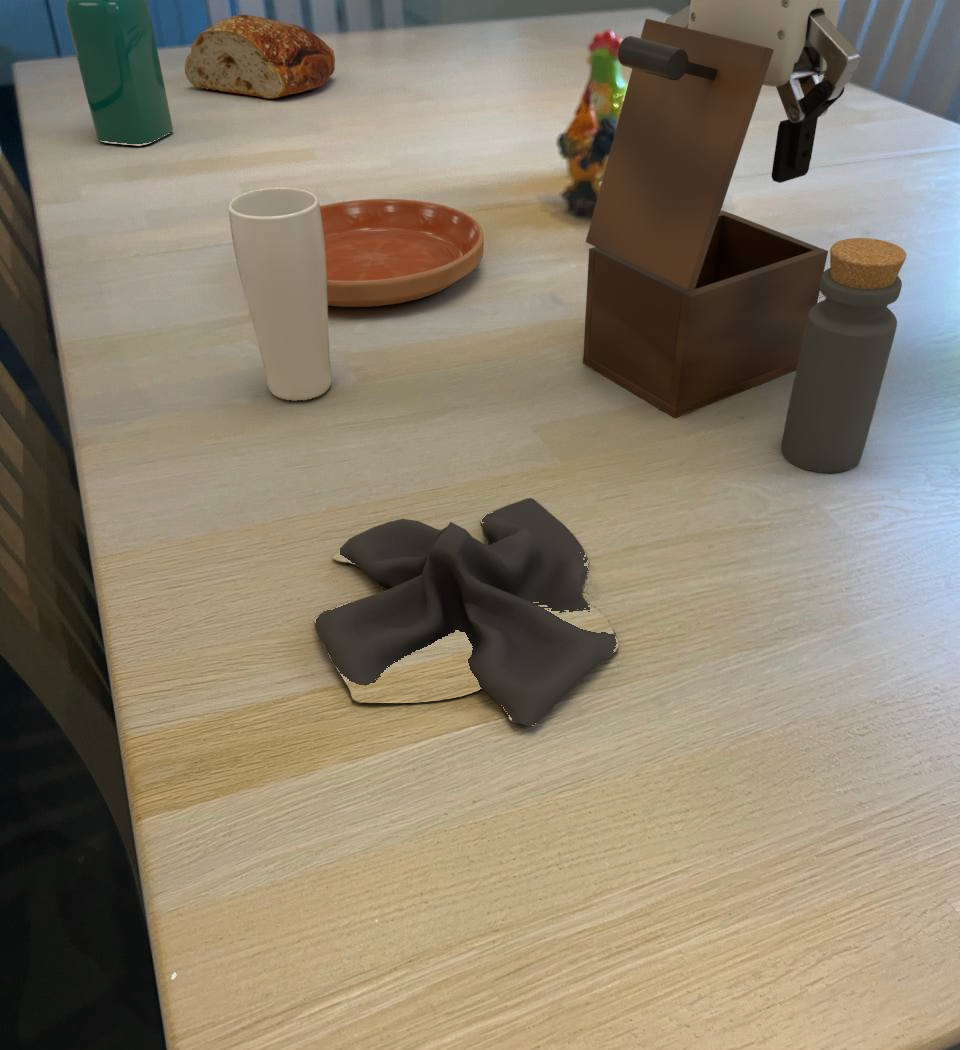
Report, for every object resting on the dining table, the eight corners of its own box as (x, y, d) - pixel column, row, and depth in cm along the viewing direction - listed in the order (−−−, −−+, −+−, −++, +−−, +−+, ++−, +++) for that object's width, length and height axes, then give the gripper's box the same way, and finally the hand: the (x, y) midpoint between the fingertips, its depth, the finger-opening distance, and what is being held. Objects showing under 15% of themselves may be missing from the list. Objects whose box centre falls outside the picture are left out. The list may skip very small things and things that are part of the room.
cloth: (620, 738, 54) (630, 653, 50) (280, 720, 55) (262, 636, 51) (616, 503, 71) (622, 425, 66) (353, 494, 72) (344, 416, 68)
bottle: (877, 466, 74) (935, 261, 64) (805, 479, 72) (853, 273, 62) (834, 427, 78) (882, 229, 68) (765, 439, 77) (804, 240, 67)
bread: (184, 89, 158) (170, 15, 152) (265, 65, 169) (256, -5, 163) (280, 107, 149) (270, 30, 143) (359, 81, 160) (353, 7, 154)
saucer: (212, 300, 98) (204, 262, 95) (324, 221, 113) (320, 186, 111) (429, 335, 91) (426, 295, 89) (516, 246, 107) (516, 210, 104)
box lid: (653, 20, 72) (596, 3, 69) (774, 49, 65) (717, 31, 62) (592, 242, 80) (538, 237, 77) (694, 290, 73) (639, 286, 69)
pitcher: (145, 149, 135) (102, -49, 120) (92, 144, 137) (42, -51, 122) (184, 128, 142) (147, -61, 127) (132, 124, 144) (90, -63, 129)
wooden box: (707, 319, 93) (722, 209, 86) (803, 367, 85) (828, 250, 79) (582, 363, 87) (588, 248, 80) (674, 418, 79) (690, 296, 73)
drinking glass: (298, 362, 87) (272, 180, 78) (358, 382, 84) (338, 196, 75) (242, 393, 83) (206, 206, 73) (302, 416, 80) (274, 224, 70)
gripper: (927, -121, 61) (866, 179, 72) (721, -134, 72) (696, 128, 83) (842, -107, 58) (792, 203, 69) (640, -123, 69) (626, 147, 80)
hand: (740, 162), depth 76 cm, fingers open, 9 cm apart
